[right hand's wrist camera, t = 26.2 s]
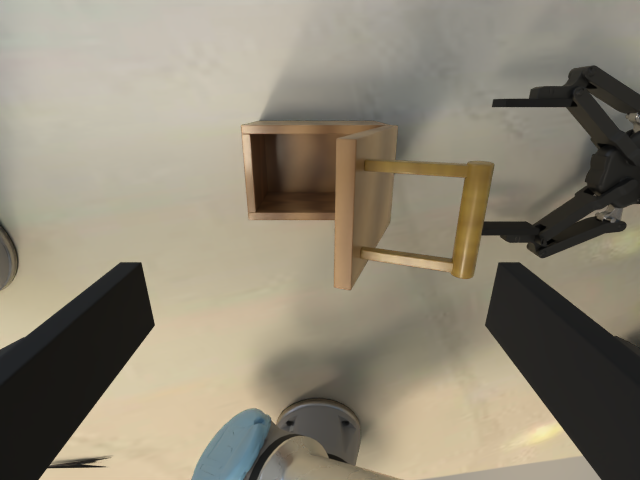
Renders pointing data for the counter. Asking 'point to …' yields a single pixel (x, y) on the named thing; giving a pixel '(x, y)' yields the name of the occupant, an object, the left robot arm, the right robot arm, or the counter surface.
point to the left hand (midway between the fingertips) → (486, 169)
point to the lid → (376, 200)
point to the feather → (76, 464)
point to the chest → (293, 167)
